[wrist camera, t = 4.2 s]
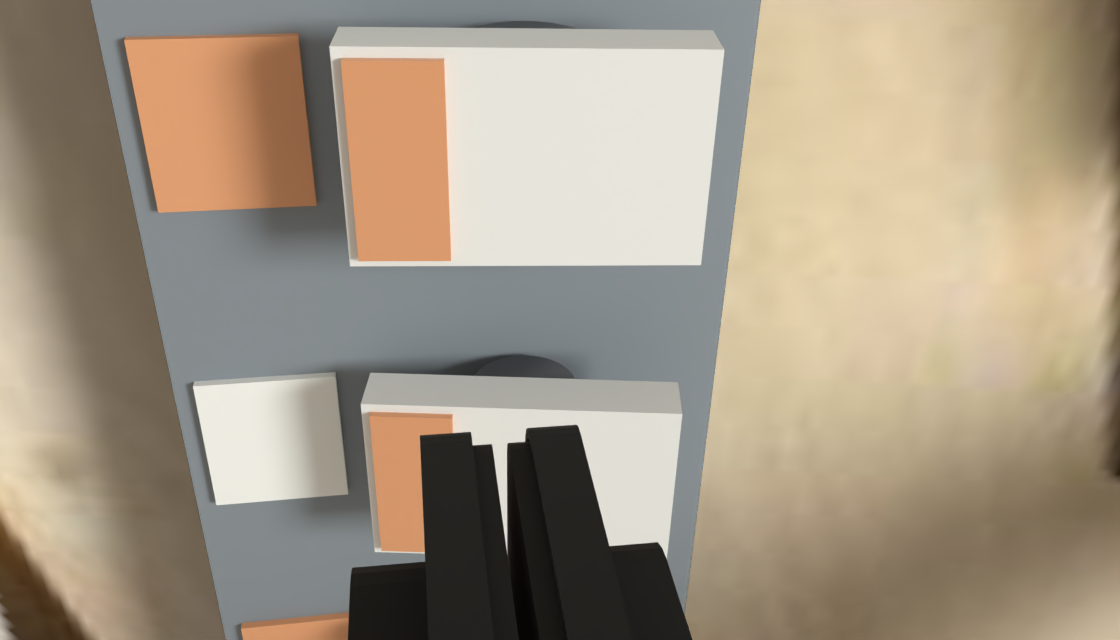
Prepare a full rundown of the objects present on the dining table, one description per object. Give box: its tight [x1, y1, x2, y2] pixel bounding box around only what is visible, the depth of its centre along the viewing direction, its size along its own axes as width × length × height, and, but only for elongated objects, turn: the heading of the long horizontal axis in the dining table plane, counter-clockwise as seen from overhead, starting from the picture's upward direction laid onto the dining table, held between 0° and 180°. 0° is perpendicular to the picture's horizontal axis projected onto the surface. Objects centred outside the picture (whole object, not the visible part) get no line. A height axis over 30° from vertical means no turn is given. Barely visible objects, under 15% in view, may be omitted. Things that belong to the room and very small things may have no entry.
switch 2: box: [361, 355, 682, 559], centre depth 25 cm, size 7×4×3 cm, turn 89°
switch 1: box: [329, 21, 724, 266], centre depth 21 cm, size 7×4×3 cm, turn 89°
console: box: [91, 0, 761, 640], centre depth 27 cm, size 13×25×4 cm, turn 179°
